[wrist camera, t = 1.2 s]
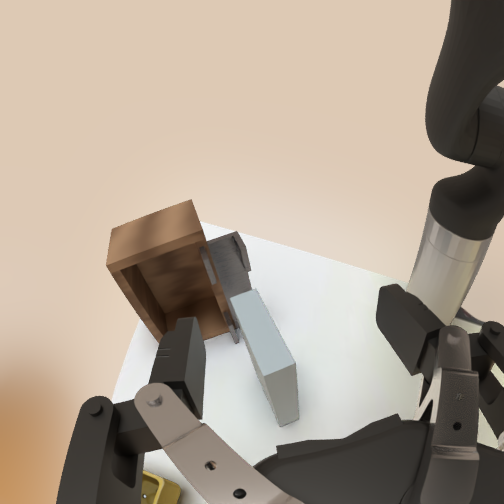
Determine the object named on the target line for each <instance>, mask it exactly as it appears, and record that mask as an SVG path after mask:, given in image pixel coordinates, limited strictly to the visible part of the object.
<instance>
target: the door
mask: <svg viewBox="0 0 504 504" xmlns="http://www.w3.org/2000/svg"><path fill="white" fill-rule="evenodd" d="M230 300H231V303H232V306H233V309H234V312H235V315H236V318H237V321H238V323H239V326H240V329H241V332H242V335H243V338H244V340H245V343H246V346H247V349H248V352H249V354H250V357H251V360H252V363H253V365H254V368H255V371H256V374H257V376H258V378H259V381H260V383H261V385H262V388H263V390H264V392H265V394H266V397H267V399H268V401H269V403H270V405H271V408H272V410H273V412H274V414H275V416H276V419H277V421H278V423H279V425H280V427H281V426H284V425H286V424H289V423H291V422H293V421H296V420H298V419H299V408H298V389H297V373H296V362H295V360H294V359H293V357H292V355H291V353H290V351H289V349H288V347H287V346H286V344H285V342H284V340H283V338H282V336H281V334H280V333H279V331H278V329H277V327H276V325H275V323H274V321H273V320H272V318H271V316H270V314H269V312H268V310H267V308H266V306H265V305H264V303H263V301H262V299H261V297H260V295H259V293H258V291H257V289H253V290H250V291H248V292H245V293H242V294H239V295H237V296H234V297H231V298H230Z"/></svg>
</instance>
